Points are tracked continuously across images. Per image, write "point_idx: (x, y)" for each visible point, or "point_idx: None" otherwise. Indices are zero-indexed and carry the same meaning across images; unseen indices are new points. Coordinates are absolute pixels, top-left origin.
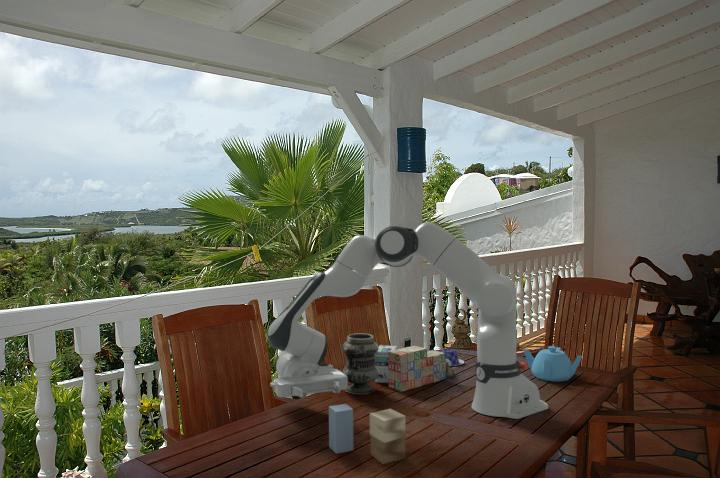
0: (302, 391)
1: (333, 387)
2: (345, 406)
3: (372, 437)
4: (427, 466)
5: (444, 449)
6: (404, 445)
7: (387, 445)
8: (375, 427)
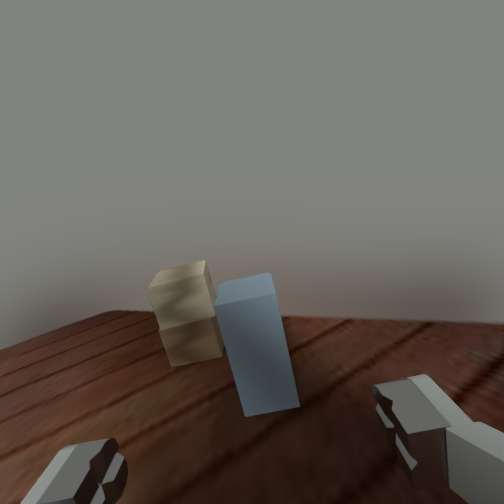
0: (412, 377)
1: (94, 485)
2: (227, 292)
3: (214, 318)
4: None
5: (104, 356)
6: None
7: None
8: (210, 288)
